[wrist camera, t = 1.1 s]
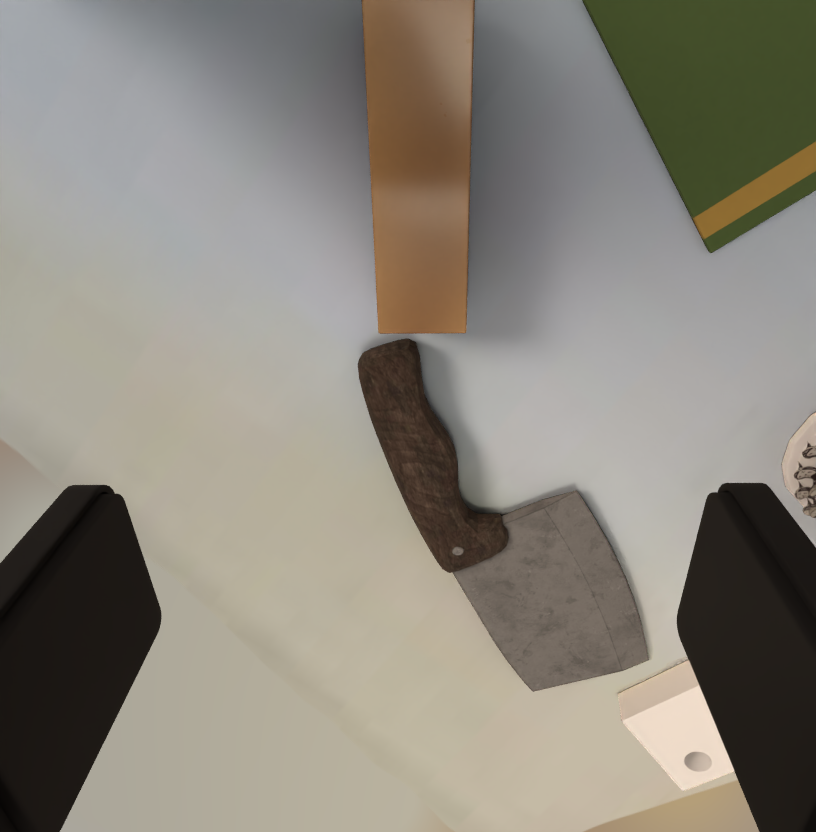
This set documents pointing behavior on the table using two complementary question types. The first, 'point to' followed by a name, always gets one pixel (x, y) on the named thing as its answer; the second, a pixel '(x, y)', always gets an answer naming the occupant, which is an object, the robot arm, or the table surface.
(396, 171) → the chalkboard eraser
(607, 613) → the cleaver
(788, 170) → the cloth
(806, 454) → the decorative candle
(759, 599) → the robot arm
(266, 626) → the table surface
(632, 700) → the bracket
